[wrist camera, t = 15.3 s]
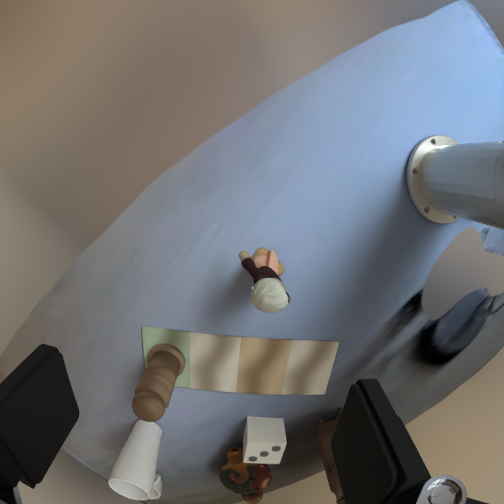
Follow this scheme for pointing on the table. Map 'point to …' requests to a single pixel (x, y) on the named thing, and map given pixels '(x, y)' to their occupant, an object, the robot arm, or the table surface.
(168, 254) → the table surface
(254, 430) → the die
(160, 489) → the teacup
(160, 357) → the pawn
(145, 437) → the drinking glass
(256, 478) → the decorative turtle
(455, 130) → the table surface
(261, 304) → the grandmother figurine
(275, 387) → the track board
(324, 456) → the alarm clock
